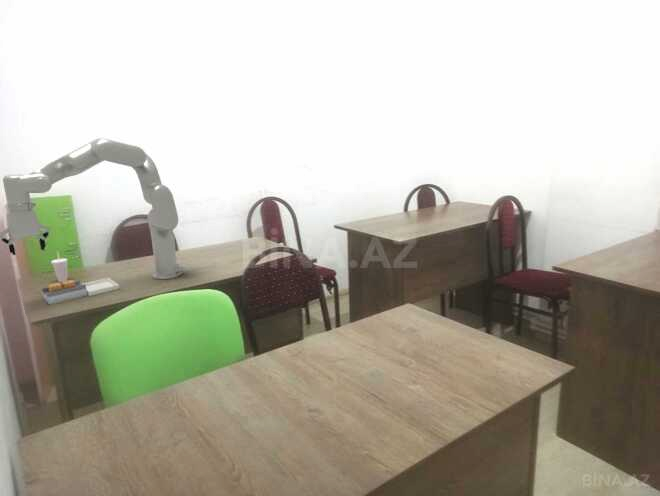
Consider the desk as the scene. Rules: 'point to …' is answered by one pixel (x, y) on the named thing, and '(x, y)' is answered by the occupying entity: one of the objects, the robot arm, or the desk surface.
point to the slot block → (64, 293)
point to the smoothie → (60, 268)
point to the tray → (101, 286)
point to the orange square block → (68, 284)
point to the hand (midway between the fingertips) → (28, 252)
